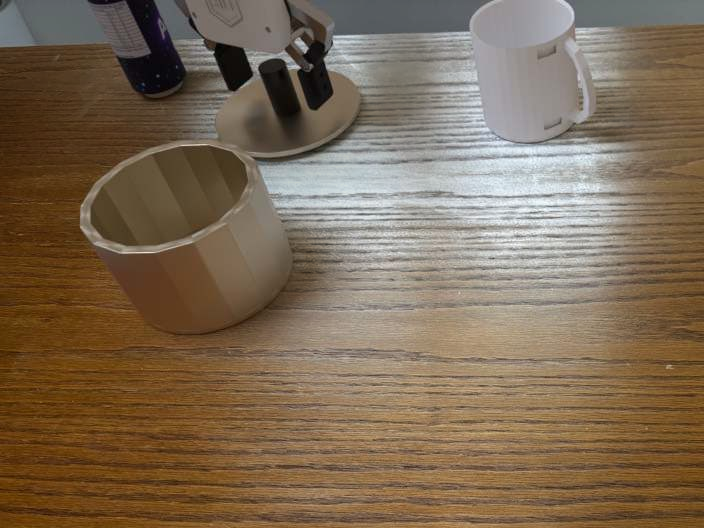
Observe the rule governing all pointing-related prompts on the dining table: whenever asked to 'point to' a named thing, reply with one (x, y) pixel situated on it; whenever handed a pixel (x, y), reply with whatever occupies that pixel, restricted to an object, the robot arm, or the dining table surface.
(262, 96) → the lid
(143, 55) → the beverage can
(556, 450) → the dining table surface
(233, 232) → the pot
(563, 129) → the mug
